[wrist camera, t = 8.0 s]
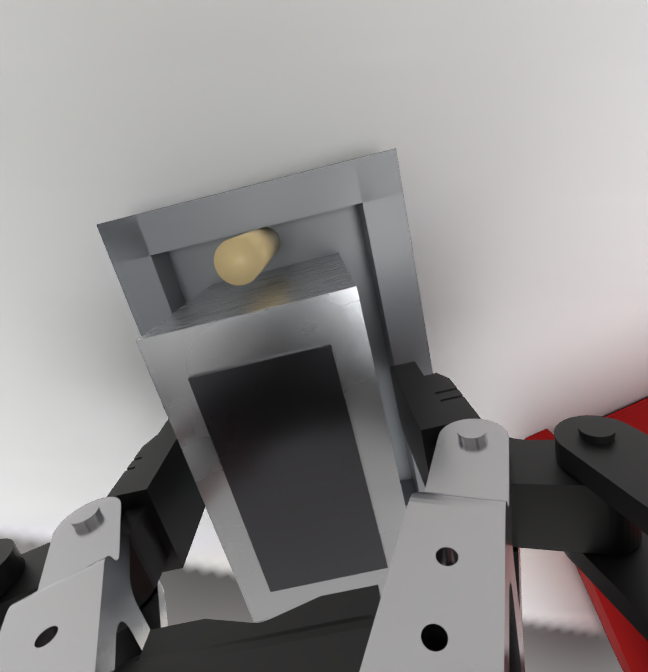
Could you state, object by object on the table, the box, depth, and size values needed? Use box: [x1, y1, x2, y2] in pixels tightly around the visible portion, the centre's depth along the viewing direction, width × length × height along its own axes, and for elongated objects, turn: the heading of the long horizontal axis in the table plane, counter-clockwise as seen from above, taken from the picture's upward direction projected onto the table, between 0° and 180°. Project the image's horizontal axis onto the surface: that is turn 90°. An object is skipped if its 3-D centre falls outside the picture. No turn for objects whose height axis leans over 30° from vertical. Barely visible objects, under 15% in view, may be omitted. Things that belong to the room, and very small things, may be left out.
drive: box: [136, 252, 406, 622], centre depth 12 cm, size 4×8×6 cm, turn 14°
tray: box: [97, 148, 433, 509], centre depth 13 cm, size 9×13×6 cm, turn 13°
